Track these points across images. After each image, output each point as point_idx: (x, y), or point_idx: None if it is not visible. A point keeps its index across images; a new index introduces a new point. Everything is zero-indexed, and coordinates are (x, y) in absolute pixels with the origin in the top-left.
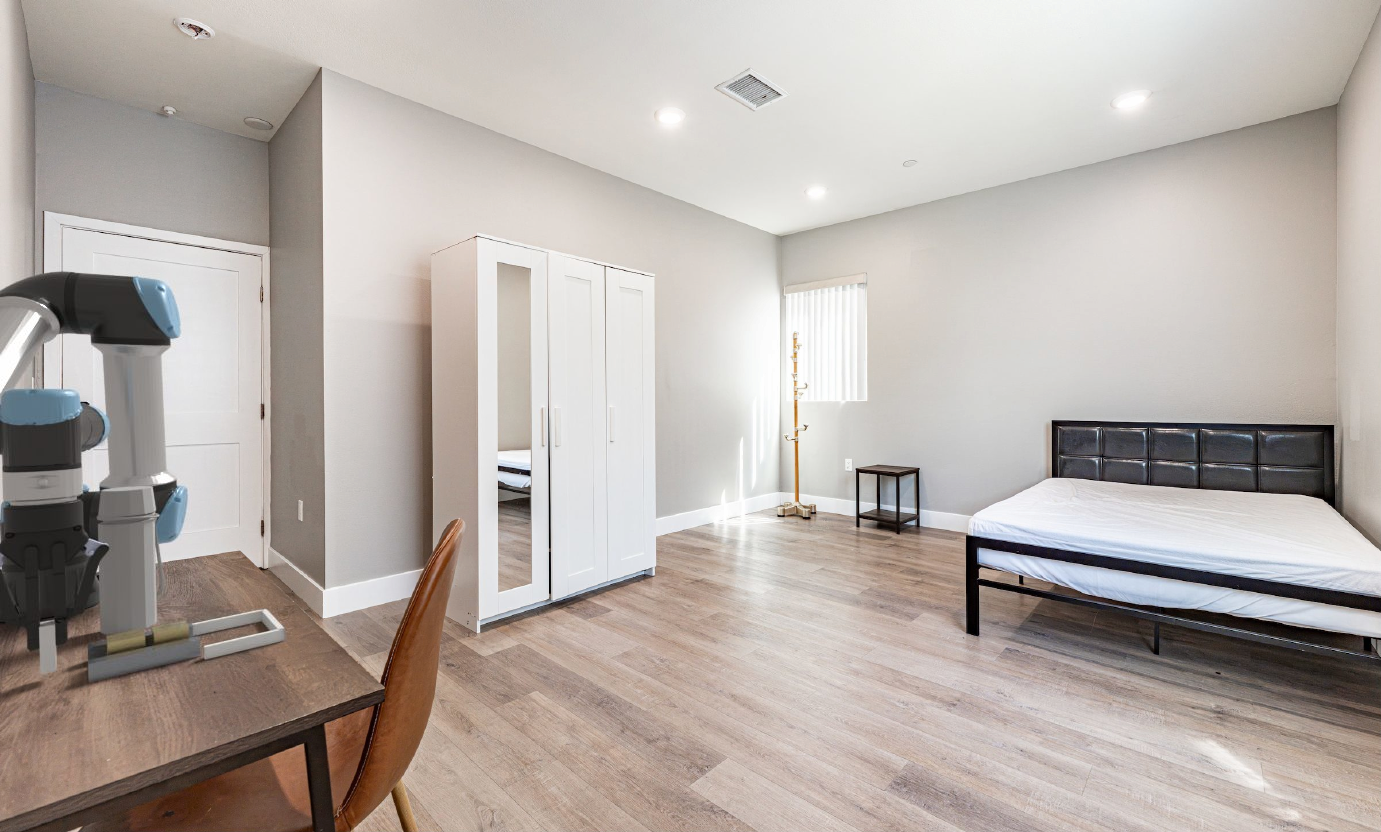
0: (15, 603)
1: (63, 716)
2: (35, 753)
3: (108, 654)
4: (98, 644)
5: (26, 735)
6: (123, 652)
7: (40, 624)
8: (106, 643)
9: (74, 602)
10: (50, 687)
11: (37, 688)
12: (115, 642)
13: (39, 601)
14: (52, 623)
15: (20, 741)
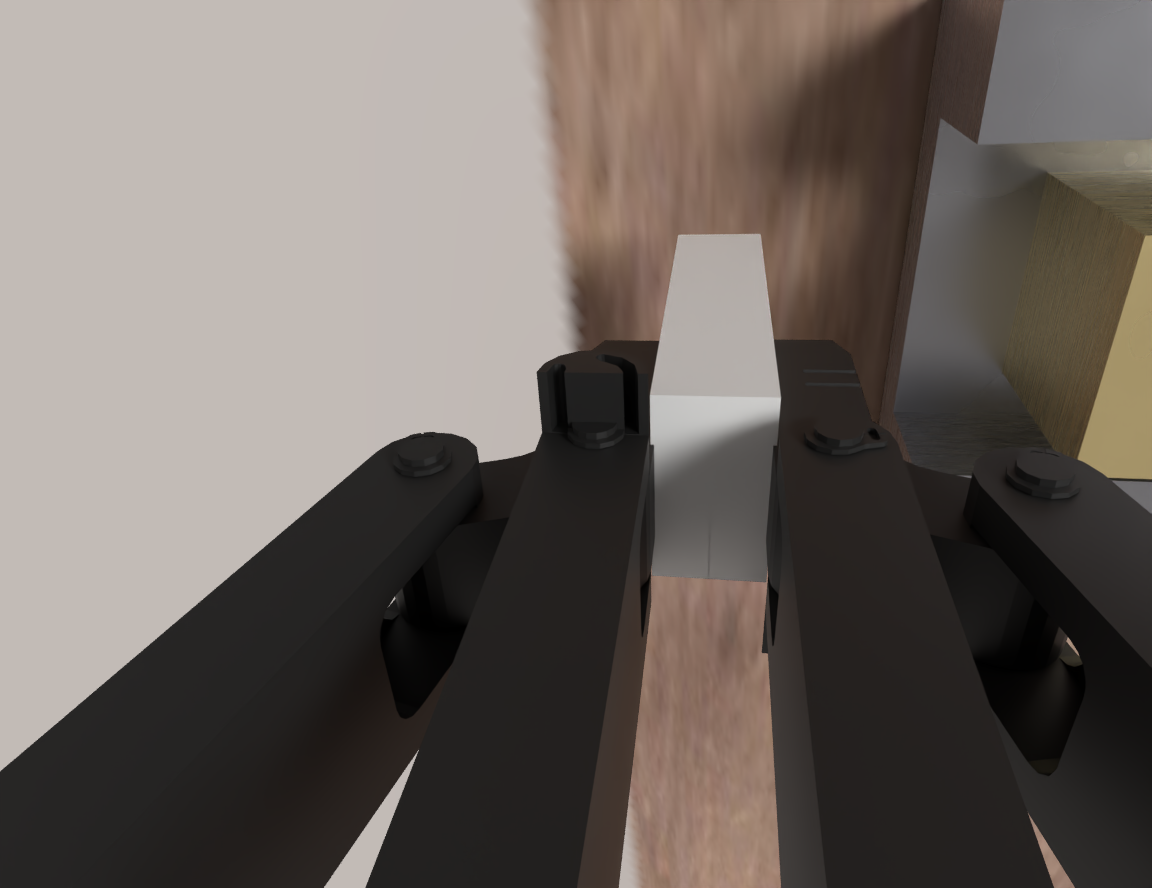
0: (371, 587)
1: (757, 664)
2: (682, 849)
3: (1043, 426)
4: (1068, 103)
5: (655, 728)
6: (1121, 485)
7: (657, 477)
8: (1125, 122)
9: (1009, 554)
10: None
11: (666, 200)
12: (1124, 473)
13: (628, 686)
14: (749, 531)
15: (643, 755)
